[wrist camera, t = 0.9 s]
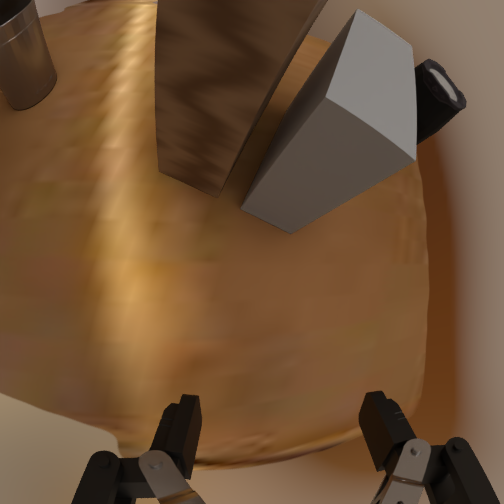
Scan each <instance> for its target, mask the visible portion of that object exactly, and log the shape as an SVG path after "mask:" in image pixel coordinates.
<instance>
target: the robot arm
mask: <svg viewBox="0 0 504 504" xmlns="http://www.w3.org/2000/svg"><path fill="white" fill-rule="evenodd" d="M56 79H57V75H56V71H55V69H54V66H53V63H52V60H51V57H50V54H49V51H48V48H47V44H46V41H45V38H44V35H43V31H42V28H41V24H40V20H39V17H38V13H37V9H36V5H35V1H34V0H0V88H1V90H2V91H3V93H4V95H5V97H6V98H7V100H8V101H9V103H10V105H11V106H12V107H13V108H14V109H16V110H23V109H27V108H29V107H31V106H33V105H35V104H36V103H38V102H39V101H41V100H42V99H43V98H44V97H45V96H46V95H47V94H48V93H49V92H50V91H51V89H52V88H53V86H54V85H55V82H56ZM359 425H360V427H361V430H362V433H363V435H364V438H365V440H366V443H367V446H368V449H369V451H370V454H371V456H372V459H373V462H374V465H375V468H376V470H377V472H378V471H382V470H385V471H386V475H385V477H384V478H383V481H382V483H381V485H380V487H379V489H378V491H377V493H376V494H375V496H374V498H373V500H372V502H371V504H418V502H419V499H420V497H421V494H422V491H423V488H424V487H425V490H426V492H427V495H428V498H429V501H430V504H500V502H499V500H498V498H497V496H496V494H495V492H494V490H493V488H492V486H491V484H490V482H489V480H488V478H487V476H486V474H485V472H484V470H483V468H482V467H481V465H480V463H479V461H478V459H477V458H476V456H475V454H474V452H473V450H472V449H471V447H470V445H469V443H468V442H467V441H466V440H465V439H463V438H460V437H454V438H451V439H449V441H448V442H447V443H446V444H445V445H435V446H430V445H429V444H428V443H427V442H426V441H424V440H422V439H417V437H416V436H415V434H414V432H413V430H412V428H411V426H410V425H409V423H408V421H407V419H406V418H405V416H404V414H403V413H402V410H401V409H400V407H399V405H398V404H397V403H396V402H395V401H393V400H392V399H387V398H386V396H385V395H384V393H383V392H382V391H374V392H368V393H366V395H365V398H364V401H363V404H362V407H361V409H360V412H359ZM201 426H202V415H201V408H200V400H199V396H197V395H187V394H183V395H182V397H181V400H180V403H179V404H176V403H171V404H170V405H169V406H168V407H167V408H166V409H165V410H164V412H163V415H162V419H161V420H160V423H159V426H158V428H157V431H156V434H155V437H154V439H153V442H152V445H151V447H150V450H149V451H147V452H145V453H144V454H142V455H141V456H140V457H137V458H118V457H117V456H116V455H115V454H114V453H112V452H109V451H98V452H96V453H94V454H93V455H92V456H91V458H90V460H89V462H88V464H87V467H86V469H85V471H84V474H83V476H82V478H81V481H80V483H79V486H78V488H77V490H76V493H75V495H74V498H73V501H72V503H71V504H135V502H136V498H157V499H158V501H159V503H160V504H205V502H204V501H203V500H202V498H201V497H200V496H199V495H198V493H197V492H195V491H193V490H192V488H191V487H190V486H189V484H188V483H187V482H186V480H185V479H189V480H190V479H191V474H192V470H193V465H194V460H195V455H196V450H197V446H198V441H199V436H200V431H201Z"/></svg>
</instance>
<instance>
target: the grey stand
mask: <svg viewBox="0 0 504 504" xmlns="http://www.w3.org/2000/svg"><path fill="white" fill-rule="evenodd" d="M416 142H417V106H416V84H415V71H414V61H413V51H412V46H411V45H410V44H408V43H407V42H406V41H404V40H403V39H402V38H401V37H399V36H398V35H397V34H395V33H394V32H392V31H391V30H390V29H388V28H387V27H385V26H384V25H382V24H381V23H379V22H378V21H376V20H375V19H373V18H372V17H370V16H369V15H367V14H366V13H364V12H362V11H361V10H359V9H357V10H356V11H355V13H354V14H353V15H352V16H351V18H350V19H349V21H348V22H347V23H346V25H345V26H344V27H343V29H342V30H341V32H340V33H339V34H338V36H337V37H336V39H335V40H334V41H333V43H332V44H331V46H330V47H329V48H328V50H327V51H326V53H325V54H324V56H323V57H322V58H321V60H320V61H319V63H318V64H317V66H316V67H315V69H314V70H313V72H312V73H311V75H310V76H309V77H308V79H307V80H306V82H305V83H304V85H303V86H302V88H301V89H300V91H299V92H298V94H297V95H296V97H295V99H294V100H293V102H292V103H291V105H290V106H289V108H288V109H287V111H286V113H285V115H284V117H283V119H282V121H281V123H280V125H279V127H278V129H277V131H276V133H275V135H274V138H273V140H272V142H271V144H270V146H269V148H268V150H267V152H266V154H265V156H264V159H263V161H262V163H261V165H260V167H259V169H258V171H257V173H256V176H255V178H254V180H253V182H252V184H251V186H250V188H249V191H248V193H247V195H246V197H245V199H244V202H243V204H242V206H241V208H240V209H241V210H243V211H245V212H247V213H249V214H251V215H254V216H256V217H258V218H260V219H262V220H264V221H266V222H268V223H270V224H272V225H274V226H276V227H278V228H280V229H282V230H284V231H286V232H288V233H290V234H292V233H294V232H295V231H297V230H299V229H300V228H302V227H304V226H306V225H307V224H309V223H311V222H312V221H314V220H316V219H318V218H319V217H321V216H323V215H324V214H326V213H328V212H329V211H331V210H333V209H335V208H336V207H338V206H340V205H341V204H343V203H345V202H347V201H348V200H350V199H352V198H353V197H355V196H357V195H358V194H360V193H362V192H364V191H365V190H367V189H369V188H370V187H372V186H374V185H375V184H377V183H379V182H381V181H382V180H384V179H386V178H387V177H389V176H391V175H392V174H394V173H396V172H397V171H399V170H401V169H403V168H404V167H406V166H408V165H409V164H411V163H413V162H414V161H416Z"/></svg>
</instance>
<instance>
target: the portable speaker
mask: <svg viewBox="0 0 504 504" xmlns="http://www.w3.org/2000/svg"><path fill="white" fill-rule="evenodd" d="M414 71H415V84H416V106H417V142H416V145H418V144H419V143H421V142H422V141H424V140H425V139H427V138H428V137H429V136H431V135H433V134H435V133H436V132H437V131H439V130H440V129H441V128H442V127H443V126H444V125H445V124H446V123H447V122H449V121H450V120H451V119H452V118H453V117H454V116H455V115H456V114H457V113H459V111H461V110H462V109H464V108H465V107H466V99H465V97H464V95H463V93H462V92H461V91H459V90H458V89H457V87H456V86H455V85H454V83H453V82H452V81H451V79H450V78H449V77H448V75H447V74H446V71H445V70H444V68H443V67H442V66H441V65H439V64H438V63H437V62H435V61H433V60H431V59H427V60H426V61H424V62H423V63H421V64H420V65H418V66H417V67H415V68H414Z"/></svg>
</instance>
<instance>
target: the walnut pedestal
mask: <svg viewBox="0 0 504 504" xmlns="http://www.w3.org/2000/svg"><path fill="white" fill-rule="evenodd" d="M327 1H328V0H158V5H157V19H156V38H155V118H156V139H157V155H158V168H159V172H162V173H164V174H166V175H168V176H171V177H173V178H175V179H177V180H179V181H182V182H184V183H186V184H188V185H190V186H192V187H195V188H197V189H199V190H201V191H203V192H205V193H207V194H210V195H212V196H214V197H216V198H218V196H219V194H220V192H221V190H222V188H223V186H224V184H225V182H226V180H227V178H228V176H229V174H230V173H231V171H232V169H233V167H234V165H235V163H236V161H237V159H238V157H239V155H240V153H241V151H242V150H243V148H244V146H245V144H246V142H247V140H248V138H249V137H250V135H251V133H252V131H253V129H254V127H255V126H256V124H257V122H258V120H259V118H260V117H261V115H262V113H263V111H264V109H265V108H266V106H267V104H268V102H269V101H270V99H271V97H272V95H273V93H274V91H275V89H276V88H277V86H278V84H279V82H280V80H281V78H282V77H283V75H284V73H285V71H286V69H287V68H288V66H289V64H290V62H291V61H292V59H293V57H294V55H295V54H296V52H297V50H298V49H299V47H300V45H301V43H302V42H303V40H304V38H305V37H306V35H307V33H308V32H309V30H310V28H311V27H312V25H313V23H314V22H315V20H316V18H317V17H318V15H319V14H320V12H321V10H322V9H323V7H324V5H325V4H326V2H327Z"/></svg>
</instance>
